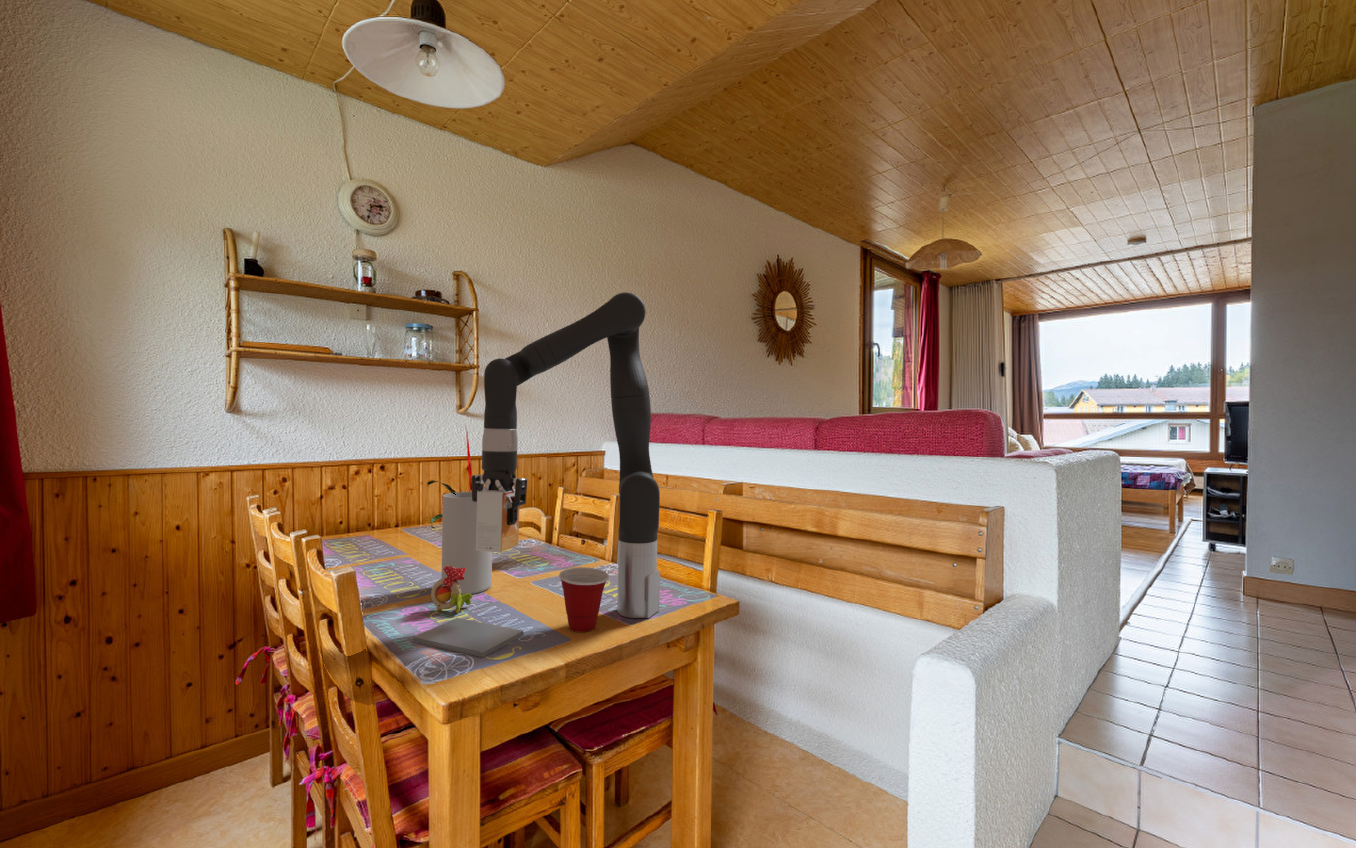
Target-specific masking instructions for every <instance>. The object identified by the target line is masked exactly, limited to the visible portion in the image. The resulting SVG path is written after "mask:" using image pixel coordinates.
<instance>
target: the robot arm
mask: <svg viewBox="0 0 1356 848" xmlns="http://www.w3.org/2000/svg"><path fill="white" fill-rule="evenodd" d="M645 317H646V306H645V303H644V302H643V300H642V298H641V297H640V296H639V295H637V294H635V293H633V292H619V293H617V294H615V295H613V296H612V297H611V298H610V299H609V300H608V301H607V302H605V303H604V304H603V305H601V306H600V307H598V308H597V309H596V310H594V311H592V312H591V313H589V314H588V315H586V316H584V317H582V318H580V319H579V320H577V321H574V322H572V323H570V324H569V325H565V326H564V327H562V328H560V329H557V330H555V331H554V332H551V333H549V334H547V335H544V336H543V337H541V338H538V339H536V340H535V341H533V342H531V343H529V344H527V345H525V346H524V347H522V349H520V351H518V352H515V353H514V354H512V355H509V356H507V357H505V358H496V359H492V360H491V361H490V362H489V363H488V364H487V365H486V366H485V369H484V371H483V372H484V374H483V385H484V386H483V388H484V401H485V402H484V404H485V405H484V415H483V433H482V439H481V440H482V441H481V442H482V443H481V446H482V447H481V470H483V473H482V474H474V475H472V476H471V492H472V501H473V502H477V492H480V491H484V490H495V491H500V492H506V491H513V493H511V494H508V495H506V497H507V506H508V508H507V525H514V524H515V523H516V522H517V516H518V507H519V506H520V507H521V506H524V505H526V503H527V493H528V492H527V489H528V479H527V478H526V477H520V478H518V477H517V476H516V470H517V469H518V444H519V443H518V442H519V441H518V430H517V429H518V427H517V426H518V410H517V393H518V389H517V388H518V386H520V385H522V384H523V383H526V382H527V381H528V380H531V379H532V378H533V377H535V376H537V375H539V374H542V373H544V372H546V371H549V370H551V369H553V368H554V367H557V366H558V365H560V364H562V363H564V362H566V361H568V360H569V359H571V358H573V357H574V356H576V355H578V354H580V352H582V351H583V350H585V349H586V348H589V347H590V346H592V345H594V344H595V343H599V342H601V341H602V340H605V339H606V338H607V345H608V351H609V361H610V365H609V366H610V368H609V369H610V370H609V376H610V377H609V378H610V379H609V380H610V382H609V383H610V385H609V386H610V401H611V412H612V420H613V426H614V432H615V437H616V441H617V447H618V454H619V455H618V456H619V484H618V494H619V526H618V541H617V542H618V543H617V544H618V548H617V549H618V553H617V603H616V605H617V607H616V609H617V610H616V611H617V614H618V615H620V616H622V617H625V618H632V619H639V618H642V619H643V618H645V619H649V618H651V617H652V616H654V615H655V614H657V612H660V601H661V600H660V599H661V597H660V594H661V593H660V592H661V571H660V570H658V568H657V567H658V532H659V528H660V527H659V526H660V506H661V505H660V504H661V503H660V501H661V499H660V498H661V497H660V495H661V494H660V488H659V484H658V482H657V480H656V479H654V474H653V470H652V469H653V468H652V463H651V459H650V458H651V455H650V438H651V436H650V435H651V423H652V415H651V414H652V409H651V397H650V395H651V394H650V389H649V383H648V380H647V379H648V378H647V376H646V373H645V372H646V371H645V370H644V367H643V363H642V359H641V358H642V357H641V354H640V353H641V352H640V327H641V326H642V324H643V323H644V320H645ZM511 498H512V500H511Z"/></svg>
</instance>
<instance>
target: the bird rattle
mask: <svg viewBox="0 0 1356 848" xmlns="http://www.w3.org/2000/svg"><path fill="white" fill-rule="evenodd" d="M443 569H444V571H445V573H446V575H447V576H448V577H446V578H442V577H441V578H439V579H438V580H437V581H436V582H434V584H433V586H432V587H431V592H430V596H431V600H432V601H431V602H432V603H433V604H434V606H435V607H436V611H438V612H440V611H443V610H449V609H451V608H453V607H455V613H456V614H459V613H460V611H461V608H462V607H463V606H464V604H466V605H467V606H469V605H471V604H472V603H471V600H472V599H473V594H469V593H467V594H464V595H461V587H460V585H459V583H458V581H457V580H464V575H463V574H464V573H465V571H466V568H459V569H457V568H454V567H452V566H449V567H448V566H445V567H444V568H443ZM442 585H448V586H442ZM450 587H451V588H452V589H453V590H452V589H451V588H450ZM452 591H454V593H453V592H452Z"/></svg>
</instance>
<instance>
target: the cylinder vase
mask: <svg viewBox="0 0 1356 848" xmlns="http://www.w3.org/2000/svg"><path fill="white" fill-rule="evenodd" d="M453 493H455V494H456V495H455V494H453ZM476 516H477V502H473V501H472V491H458V492H449V493H444V494H443V495H442V517H441V518H442V521H441V522H442V529H441V530H442V531H441V532H442V533H441V534H442V535H441V579H442V578H446V577H448V576H447V575H446V573H445V571H444V569H443V568H444V567H445V566H448V567H449V566H452V567H454V568H457V569H459V568H466V571H465V573H464V574H463V575H464V580H457V581H458V583H459V585H460V587H461V595H464V594H467V593H469V594H471V595H473V594H475V595H476V594H478V593H482V592H484V591H487V590H488V589H489V588H491V587H492V584H493V583H492V582H493V575H492V573H493V569H492V568H493V552H486V551H476V550H475V548H476ZM442 586H448V585H442ZM450 588H451V587H450ZM451 589H452V588H451ZM452 590H453V589H452ZM452 592H453V593H454V591H452Z"/></svg>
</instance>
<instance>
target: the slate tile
mask: <svg viewBox="0 0 1356 848" xmlns="http://www.w3.org/2000/svg"><path fill="white" fill-rule="evenodd" d="M524 632H525V631H524V630H522V629H516V628H511V627H506V626H501V625H497V624H496V625H495V624H491V623H486V622H481V621H475V620H472V619H471V620H469V619H466V618H465V619H464V618H459V617H456V618H454V619H451V620H450V621H447V622H446V621H445V622H444V623H442V624H439V625H437V626H434V627H432V628H431V629H428V630H425V631H424V632H421V633H419V634H416V635H414V636H412V643H416V644H420V645H421V644H422V645H427V646H430V647H434V648H439V649H444V650H448V651H452V652H456V653H462V654H466V655H470V656H475V657H479V658H485V657H486V656H489V655H490V654H493V653H494V652H496V651H498V650H500V649H501V648H503V647H505V646H507V645H508V644H510V643H513V642H514V641H516V640H518V639H520V638H521V637H523V636H524Z"/></svg>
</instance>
